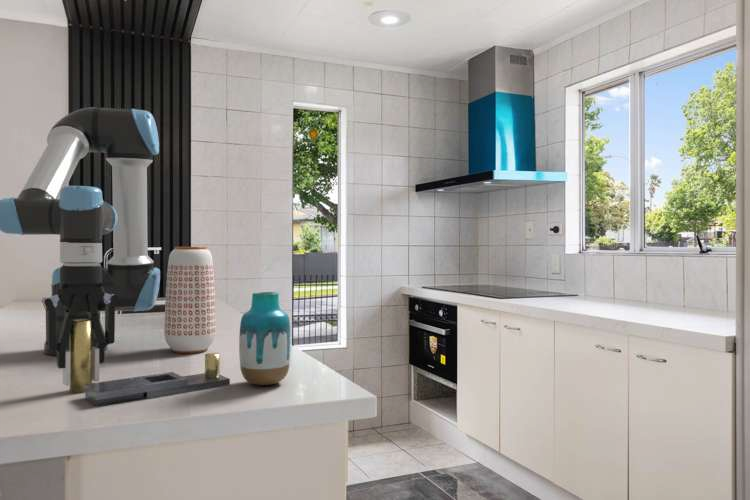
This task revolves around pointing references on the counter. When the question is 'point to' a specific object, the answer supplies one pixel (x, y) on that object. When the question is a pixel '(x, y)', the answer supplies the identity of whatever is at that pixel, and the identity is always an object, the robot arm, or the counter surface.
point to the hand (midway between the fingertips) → (81, 381)
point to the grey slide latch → (156, 384)
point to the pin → (80, 355)
